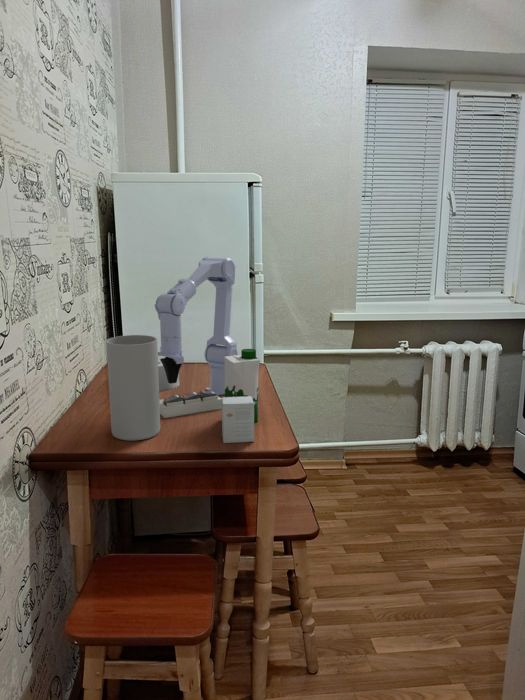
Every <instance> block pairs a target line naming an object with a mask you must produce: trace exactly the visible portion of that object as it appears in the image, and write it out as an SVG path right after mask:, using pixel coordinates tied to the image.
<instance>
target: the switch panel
mask: <svg viewBox="0 0 525 700" xmlns="http://www.w3.org/2000/svg"><path fill="white" fill-rule="evenodd" d="M180 396H181V395H180ZM182 396H183V395H182ZM182 396H181V398H182ZM199 397H200V398H199V399H192V400H186V401H185V402H184V401H183V399H182V401H179V402H173V403H167V405H166V404H165V402H164V399H165V398H161V399H160V398H159V404H160V416H161V417H163V419H167V418H168V419H169V418H174V417H179V416H185V415H192V414H197V413H204V412H209V411H216V410H220V409H221V410H222V397H220V396H219V395H217V396H212V397H205V398H202V397H201V396H200V395H199Z"/></svg>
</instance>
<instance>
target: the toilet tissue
mask: <svg viewBox="0 0 525 700" xmlns="http://www.w3.org/2000/svg"><path fill="white" fill-rule="evenodd" d="M158 377H159V392H163V390H164V391H168V390H172V389H176V388H178V387H180V386H179V385H181V384H180V373H179V374H178V379H177V383H172V384H170V383H168V380H167V376H166V372H165V369H164V366H163V364H162V362H161V361H160V359H158ZM177 386H178V387H177ZM175 387H176V388H175ZM171 388H172V389H171ZM167 389H168V390H167Z"/></svg>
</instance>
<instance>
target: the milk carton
mask: <svg viewBox="0 0 525 700" xmlns="http://www.w3.org/2000/svg"><path fill="white" fill-rule="evenodd" d="M260 362H261V360H260V359H259V358H257V350H256V349H254V348H243V349H241V351H240V354H238V355H233V356H227V357H224V365H225V394H224V397H246V396H252V399H253V402H254V423H258V422H259V370H260Z"/></svg>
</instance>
